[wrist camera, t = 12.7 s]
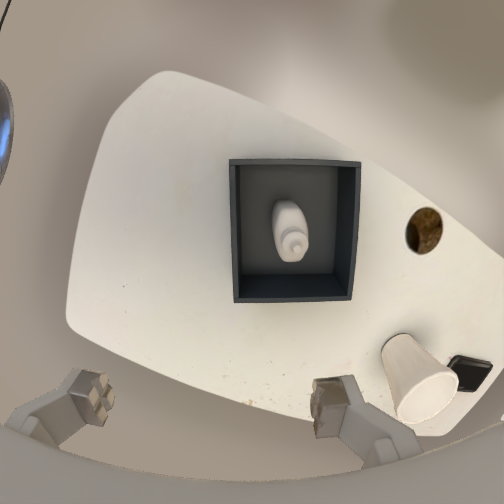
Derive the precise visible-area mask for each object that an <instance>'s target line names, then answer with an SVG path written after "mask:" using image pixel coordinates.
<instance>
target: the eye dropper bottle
mask: <svg viewBox="0 0 504 504" xmlns="http://www.w3.org/2000/svg"><path fill="white" fill-rule="evenodd" d="M271 224H272V231H273V235H274V240H275V245H276V248H277V251H278V254H279V256H280V257H281V259H282V260H283V261H285V262H296V261H300V260H301V259H302V258H303V256H304V254H305V253H306V251H307V249H308V244H309V243H308V227H307V223H306V219H305V217H304V215H303V212H302V211H301V209H300V208H299V207H298V205H297V204H296V203H295V202H294V201H293V200H291V199H281V200H277V201H276V202H275V204H274V207H273V211H272V217H271Z"/></svg>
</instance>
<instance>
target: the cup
mask: <svg viewBox="0 0 504 504" xmlns="http://www.w3.org/2000/svg"><path fill="white" fill-rule="evenodd" d="M381 356H382V361H383V365H384V368H385V372H386V375H387V379H388V382H389V386H390V390H391V394H392V397H393V401H394V409H395V412H396V416H397V418H398V419H399V420H400V421H401V422H403V423H407V424H414V423H420V422H423V421H425V420H427V419H429V418H432V417H433V416H435V415H436V414H437V413H439V412H440V411H442V410H443V409H444V408H445V407H446V406H447V405H448V404H449V402H450V401H451V400H452V398H453V397H454V395H455V393H456V392H457V388H458V383H459V380H458V377H457V374H456V373H455V372H454V371H453V370H451V369H450V368H449V367H447V366H445V365H443V364H441V363H440V362H439V361H438V360H436V359H435V358H434V357H433V356H432V355H431V354H430V353H429V352H428V351H427V350H425V349H424V348H423V347H422V346H421V345H420V344H419V343H418V342H416V341H415V340H414V339H413V337H412V336H410V335H408V334H400V335H397V336H395V337H393V338H392V339H390V340H389V341H388V342H387V343H386V345H385V346H384V347H383V350H382V353H381Z"/></svg>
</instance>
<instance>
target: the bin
mask: <svg viewBox="0 0 504 504" xmlns="http://www.w3.org/2000/svg"><path fill="white" fill-rule="evenodd" d="M229 165H230V166H229V183H230V218H231V248H232V274H233V297H234V303H285V302H322V301H347V300H351V299H352V291H353V282H354V273H355V264H356V253H357V241H358V228H359V212H360V189H361V162H356V161H339V160H316V159H229ZM281 199H291V200H293V201H294V202H295V203H296V204H297V205H298V207H299V208H300V209H301V211H302V212H303V215H304V217H305V219H306V223H307V227H308V243H309V244H308V249H307V251H306V253H305V254H304V256H303V258H302V259H301V260H300V261H296V262H285V261H283V260H282V259H281V257H280V256H279V254H278V251H277V248H276V245H275V240H274V235H273V231H272V224H271V217H272V211H273V207H274V204H275V202H276V201H277V200H281Z"/></svg>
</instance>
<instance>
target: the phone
mask: <svg viewBox="0 0 504 504" xmlns="http://www.w3.org/2000/svg"><path fill="white" fill-rule="evenodd" d="M447 367H449V368H450V369H451V370H453V371H454V372H455V373H456V374H457V377H458V380H459V383H458V388H457V391H461V392H475V391H476V390H477V389H478V388H479V386H480V385H481V384H482V382H483V381H484V379H485V378H486V377H487V375H488V374H489V372H490V371H491V369H492V367H493V365H492V364H491V363H490V362H487V361H482V360H478V359H473V358H468V357H464V356H459V355H457V356H455V357H454V358H453V359H452V360H451V362H450V363H449V365H448V366H447Z"/></svg>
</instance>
